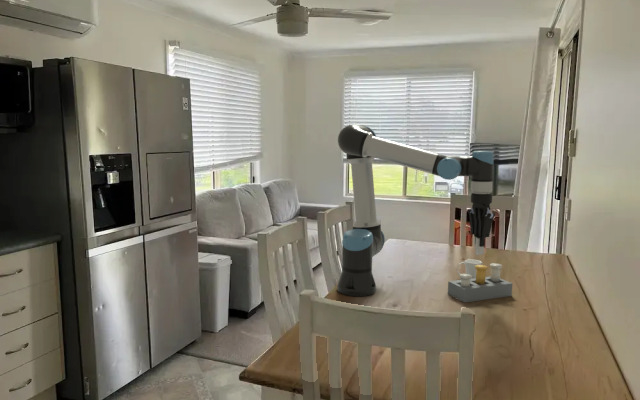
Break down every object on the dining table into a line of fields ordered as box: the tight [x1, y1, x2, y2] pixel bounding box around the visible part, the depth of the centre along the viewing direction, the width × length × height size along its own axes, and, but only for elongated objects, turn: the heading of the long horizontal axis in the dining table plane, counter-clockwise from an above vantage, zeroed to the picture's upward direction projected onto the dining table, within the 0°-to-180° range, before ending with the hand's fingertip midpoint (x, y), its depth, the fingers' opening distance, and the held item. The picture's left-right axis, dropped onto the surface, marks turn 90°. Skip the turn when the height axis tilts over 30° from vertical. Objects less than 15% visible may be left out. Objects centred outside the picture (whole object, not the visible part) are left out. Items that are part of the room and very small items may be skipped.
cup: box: [456, 258, 483, 279], centre depth 199 cm, size 7×10×8 cm
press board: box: [447, 275, 513, 303], centre depth 179 cm, size 22×10×5 cm, turn 110°
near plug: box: [459, 273, 472, 287], centre depth 177 cm, size 4×4×7 cm
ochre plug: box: [475, 264, 488, 284], centre depth 179 cm, size 4×4×7 cm
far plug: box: [489, 263, 503, 283], centre depth 181 cm, size 4×4×7 cm
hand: (479, 254), depth 176 cm, fingers closed
